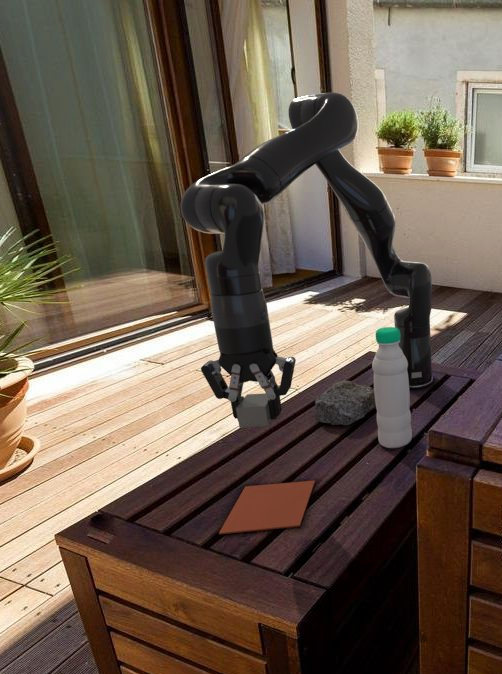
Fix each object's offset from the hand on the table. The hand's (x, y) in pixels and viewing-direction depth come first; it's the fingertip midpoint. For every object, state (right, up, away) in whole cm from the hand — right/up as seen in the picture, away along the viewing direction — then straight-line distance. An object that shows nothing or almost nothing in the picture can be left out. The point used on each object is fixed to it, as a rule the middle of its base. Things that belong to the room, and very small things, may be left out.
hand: (258, 417), depth 78 cm
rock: (+4, -5, +34) cm, 35 cm away
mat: (+1, -15, +2) cm, 16 cm away
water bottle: (+18, -9, +22) cm, 30 cm away
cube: (0, 0, 0) cm, 0 cm away
